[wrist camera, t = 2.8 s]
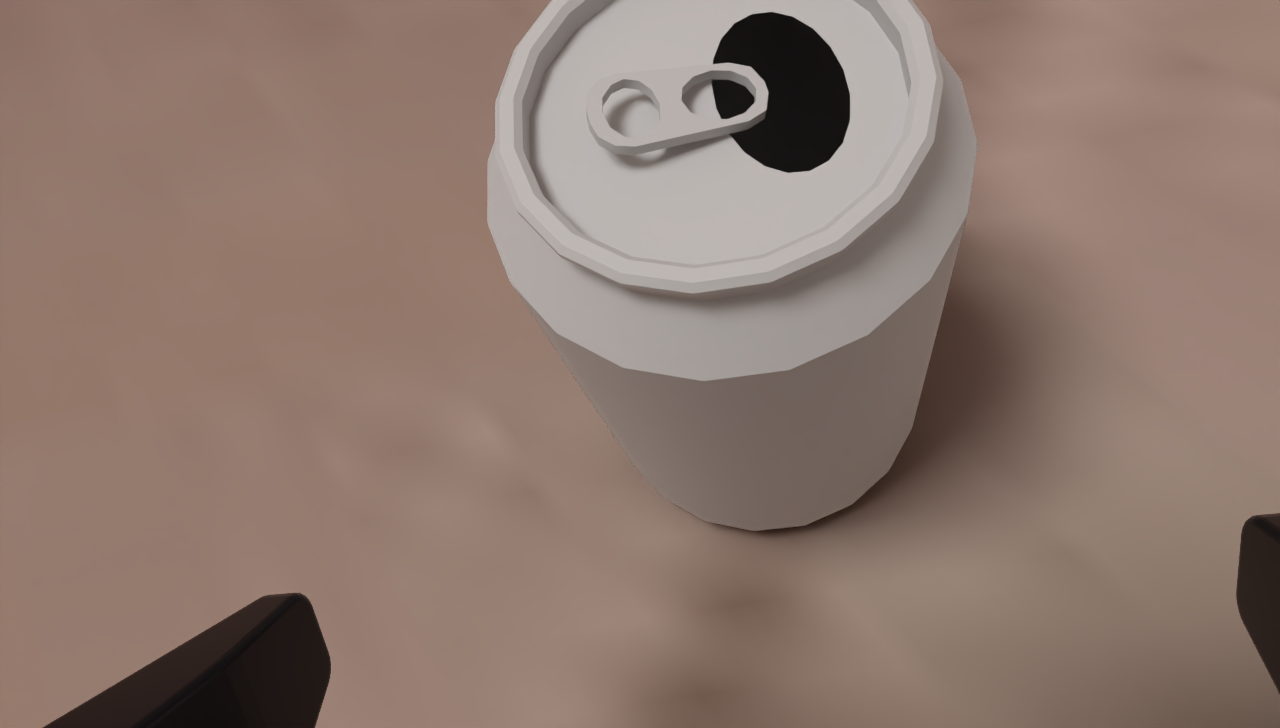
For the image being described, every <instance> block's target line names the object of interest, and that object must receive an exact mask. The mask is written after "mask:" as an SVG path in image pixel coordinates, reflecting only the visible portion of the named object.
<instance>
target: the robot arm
mask: <svg viewBox="0 0 1280 728" xmlns="http://www.w3.org/2000/svg"><path fill="white" fill-rule="evenodd" d="M1236 597H1237V605H1238V609H1239V613H1240V616H1241V619H1242V621H1243V623H1244V625H1245V627H1246V629H1247V631H1248V633H1249V635H1250V637H1251V639H1252V641H1253V643H1254V645H1255V647H1256V649H1257V651H1258V653H1259V655H1260V657H1261V658H1262V660H1263V662H1264V664H1265V666H1266V668H1267V670H1268V672H1269V674H1270V676H1271V678H1272V680H1273V682H1274V684H1275V686H1276V688H1277V690H1278V692H1279V694H1280V513H1277V514H1266V515H1255V516H1252V517H1251V518H1249V519H1248V520H1247V521H1246V522H1245V524H1244V526H1243V529H1242V534H1241V544H1240V556H1239V567H1238V579H1237V590H1236ZM330 673H331V662H330V656H329V652H328V649H327V647H326V644H325V641H324V638H323V635H322V632H321V630H320V627H319V624H318V621H317V618H316V615H315V613H314V610H313V607H312V605H311V602H310V601H309V599H308V598H307V597H306V596H305V595H303V594H301V593H287V594H275V595H267V596H263V597H261V598H259V599H257V600H256V601H254V602H252V603H251V604H249V605H247V606H246V607H244V608H242V609H241V610H239V611H237V612H236V613H234V614H232V615H231V616H229V617H227V618H226V619H224V620H222V621H221V622H219V623H217V624H216V625H214V626H212V627H211V628H209V629H207V630H206V631H204V632H202V633H200V634H199V635H197V636H195V637H194V638H192V639H190V640H189V641H187V642H185V643H184V644H182V645H180V646H179V647H177V648H175V649H174V650H172V651H170V652H169V653H167V654H165V655H164V656H162V657H160V658H159V659H157V660H155V661H154V662H152V663H150V664H148V665H147V666H145V667H143V668H142V669H140V670H138V671H137V672H135V673H133V674H132V675H130V676H128V677H127V678H125V679H123V680H122V681H120V682H118V683H117V684H115V685H113V686H112V687H110V688H108V689H107V690H105V691H103V692H102V693H100V694H98V695H97V696H95V697H93V698H91V699H90V700H88V701H86V702H85V703H83V704H81V705H80V706H78V707H76V708H75V709H73V710H71V711H70V712H68V713H66V714H65V715H63V716H61V717H60V718H58V719H56V720H55V721H53V722H51V723H50V724H48V725H46V726H45V727H43V728H315V725H316V722H317V719H318V716H319V712H320V709H321V706H322V703H323V700H324V696H325V693H326V690H327V687H328V683H329V679H330Z"/></svg>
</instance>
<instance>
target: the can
mask: <svg viewBox="0 0 1280 728" xmlns="http://www.w3.org/2000/svg"><path fill="white" fill-rule="evenodd" d="M977 145H978V144H977V140H976V136H975V132H974V128H973V125H972V121H971V117H970V113H969V109H968V105H967V101H966V97H965V94H964V90H963V86H962V82H961V79H960V78H959V77H958V75H957V74H956V73H955V71H954V70H953V69H952V67H951V66H950V64H949V63H948V62H947V60H946V59H945V58H944V56H943V55H942V54H941V52H940V51H939V49H938V48H937V47H936V45H935V44H934V40H933V36H932V32H931V28H930V24H929V23H928V21H927V20H926V19H925V17H924V16H923V14H922V13H921V12H920V10H919V9H918V8H917V6H916V5H915V4H914V2H913V1H912V0H552V1H551V2H550V3H549V4H548V6H547V7H546V8H545V10H544V11H543V12H542V14H541V15H540V16H539V18H538V19H537V20H536V22H535V23H534V24H533V25H532V27H531V28H530V29H529V31H528V32H527V33H526V35H525V36H524V37H523V39H522V40H521V41H520V43H519V44H518V45H517V47H516V48H515V49H514V52H513V55H512V58H511V60H510V63H509V66H508V69H507V71H506V74H505V77H504V80H503V83H502V85H501V88H500V91H499V94H498V96H497V99H496V102H495V142H494V145H493V147H492V150H491V153H490V156H489V159H488V226H489V228H490V231H491V234H492V236H493V239H494V241H495V244H496V247H497V249H498V252H499V254H500V257H501V259H502V262H503V265H504V267H505V270H506V272H507V275H508V278H509V280H510V283H511V284H512V286H513V287H514V289H515V290H516V292H517V293H518V295H519V296H520V298H521V299H522V301H523V302H524V304H525V305H526V307H527V308H528V310H529V311H530V313H531V314H532V315H533V317H534V318H535V320H536V321H537V323H538V324H539V326H540V327H541V329H542V330H543V332H544V333H545V335H546V336H547V338H548V339H549V341H550V342H551V344H552V345H553V347H554V348H555V350H556V351H557V353H558V354H559V356H560V357H561V359H562V360H563V362H564V363H565V365H566V366H567V368H568V369H569V371H570V372H571V374H572V375H573V377H574V378H575V380H576V381H577V382H578V384H579V385H580V387H581V388H582V390H583V391H584V393H585V394H586V396H587V397H588V399H589V400H590V402H591V403H592V405H593V406H594V408H595V409H596V411H597V412H598V414H599V415H600V417H601V418H602V420H603V421H604V423H605V424H606V426H607V427H608V429H609V430H610V432H611V433H612V435H613V436H614V438H615V439H616V441H617V442H618V444H619V445H620V447H621V448H622V449H623V451H624V452H625V454H626V455H627V457H628V458H629V460H630V461H631V463H632V464H633V465H634V466H635V467H636V468H637V469H638V471H639V472H640V473H641V474H642V475H643V476H644V477H645V478H646V480H647V481H648V482H649V483H650V484H651V485H652V486H653V487H654V489H655V490H656V491H657V492H658V493H659V494H660V495H661V497H663V498H665V499H667V500H668V501H670V502H672V503H674V504H675V505H677V506H679V507H681V508H682V509H684V510H686V511H688V512H689V513H691V514H693V515H695V516H696V517H698V518H700V519H701V520H703V521H707V522H712V523H717V524H721V525H726V526H731V527H736V528H741V529H746V530H750V531H759V530H768V529H778V528H787V527H797V526H805V525H807V524H809V523H812V522H814V521H816V520H818V519H821V518H823V517H825V516H828V515H830V514H832V513H834V512H837V511H839V510H841V509H843V508H846V507H848V506H850V505H852V504H853V503H854V502H855V501H856V500H858V499H859V498H860V497H861V496H862V495H863V494H864V493H865V492H866V491H867V490H868V489H870V488H871V487H872V486H873V485H874V484H875V483H876V482H877V481H878V480H879V479H881V478H882V477H883V476H884V475H885V474H886V473H887V472H888V471H889V470H890V468H891V466H892V464H893V463H894V461H895V459H896V457H897V455H898V453H899V451H900V450H901V448H902V446H903V444H904V442H905V440H906V439H907V437H908V435H909V433H910V431H911V429H912V427H913V423H914V419H915V415H916V411H917V407H918V404H919V400H920V396H921V392H922V388H923V384H924V380H925V377H926V373H927V369H928V365H929V361H930V357H931V353H932V350H933V346H934V342H935V338H936V334H937V330H938V326H939V323H940V319H941V315H942V311H943V307H944V303H945V299H946V295H947V292H948V288H949V284H950V280H951V276H952V272H953V268H954V265H955V261H956V257H957V253H958V249H959V245H960V241H961V238H962V234H963V230H964V226H965V222H966V218H967V214H968V208H969V201H970V194H971V187H972V180H973V173H974V166H975V159H976V152H977Z"/></svg>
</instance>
